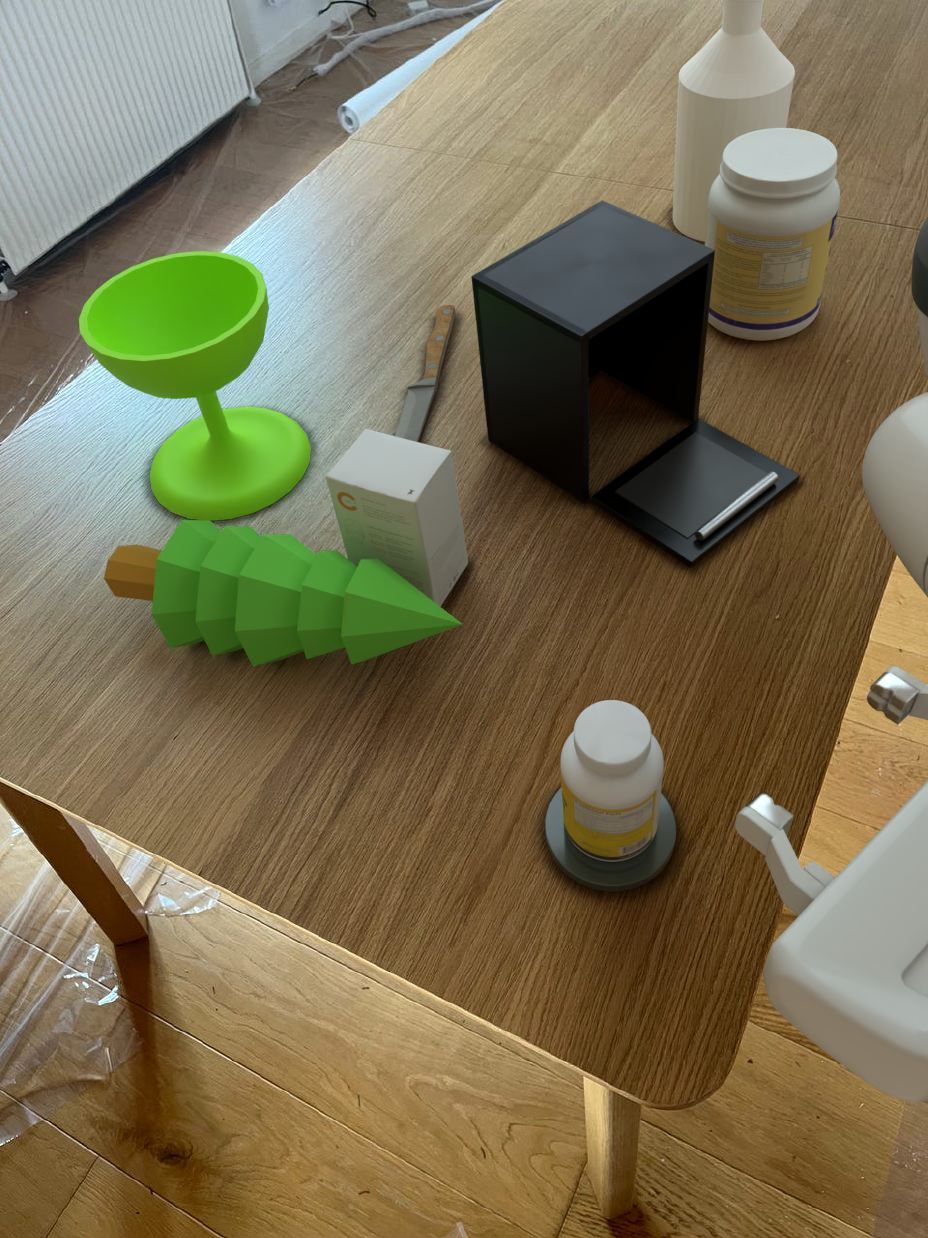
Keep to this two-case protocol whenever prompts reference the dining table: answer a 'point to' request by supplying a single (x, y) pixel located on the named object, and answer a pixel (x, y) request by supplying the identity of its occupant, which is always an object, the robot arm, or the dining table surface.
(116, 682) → the dining table surface
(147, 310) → the wineglass
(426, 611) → the decorative tree
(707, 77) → the bottle
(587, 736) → the pill bottle
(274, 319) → the dining table surface
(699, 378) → the oven
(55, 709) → the dining table surface
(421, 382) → the knife
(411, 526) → the small box
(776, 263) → the supplement tub
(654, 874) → the trivet
